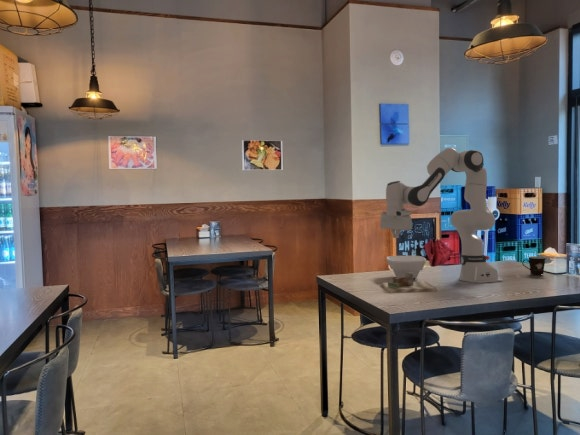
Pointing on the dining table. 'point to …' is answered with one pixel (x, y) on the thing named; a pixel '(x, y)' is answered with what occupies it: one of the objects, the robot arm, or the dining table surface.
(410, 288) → the tuner board
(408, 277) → the tuning peg
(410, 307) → the dining table surface
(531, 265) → the coffee mug
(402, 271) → the bowl
